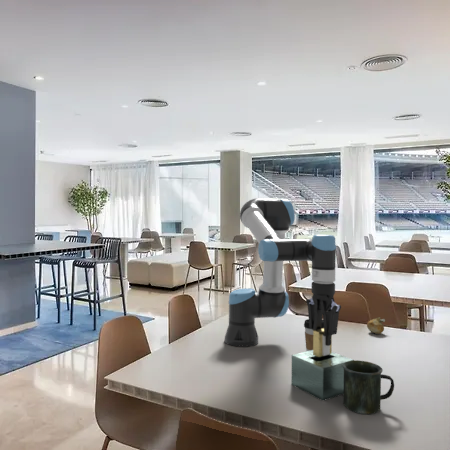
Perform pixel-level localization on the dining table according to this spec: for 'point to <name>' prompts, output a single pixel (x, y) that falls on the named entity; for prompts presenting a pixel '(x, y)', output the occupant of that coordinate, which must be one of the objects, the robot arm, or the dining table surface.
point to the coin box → (319, 374)
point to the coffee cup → (309, 335)
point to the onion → (376, 325)
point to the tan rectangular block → (319, 342)
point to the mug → (364, 386)
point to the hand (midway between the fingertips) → (322, 353)
